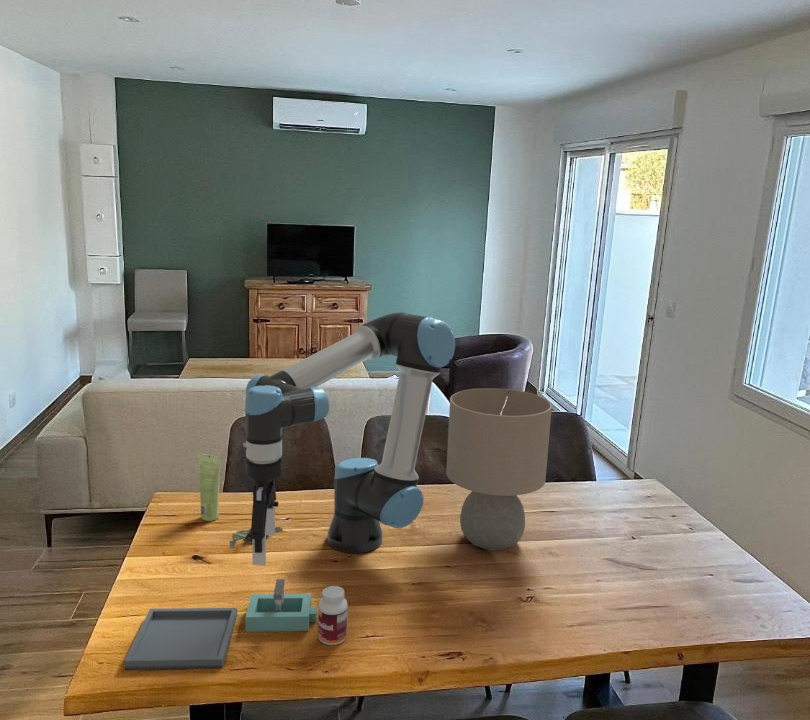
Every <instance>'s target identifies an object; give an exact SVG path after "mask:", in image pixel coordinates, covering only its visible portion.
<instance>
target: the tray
mask: <svg viewBox="0 0 810 720" xmlns="http://www.w3.org/2000/svg"><path fill="white" fill-rule="evenodd" d="M237 618H238V607H201V608H200V607H197V608H195V607H191V608H190V607H189V608H188V607H186V608H185V607H184V608H183V607H181V608H178V607H177V608H176V607H175V608H173V607H172V608H150V609H149V610H148V612H147V614H146V615H145V618H144V620H143V622H142V624H141V625H140V626H141V627H140V628H139V630H138V632H137V634H136V636H135V638H134V641H133V642H132V644H131V646H130V648H129V651H128V652H127V654H126V657H125V658H124V660H123V662H124V663H123V666H124V667H123V668H124V670H125V671H134V670H136V671H137V670H138V671H140V670H189V669H190V670H191V669H192V670H193V669H223V668H224V665H225V662H226V659H227V654H228V651H229V647H230V643H231V639H232V636H233V633H234V630H235V625H236V621H237Z"/></svg>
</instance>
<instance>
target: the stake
mask: <svg viewBox="0 0 810 720" xmlns="http://www.w3.org/2000/svg"><path fill="white" fill-rule="evenodd" d="M285 581H286V580H285V578H276V582H275V586H274V589H273V594H274V595H273V597H274V600H275V612H284V594H285V591H284V590H285V585H286V583H285Z"/></svg>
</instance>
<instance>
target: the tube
mask: <svg viewBox="0 0 810 720" xmlns="http://www.w3.org/2000/svg"><path fill="white" fill-rule="evenodd" d="M221 459H222V457H221V456H217V455H211V454H205V453H201V452H200V453H199V452H198V453H197V462H198V476H199V479H198V480H199V493H200V495H199V496H200V518H201V520H202V521H204V522H212V521H216V520H218V518H220V516H219V515H220V514H219V512H220V511H219V509H220V508H219V507H220V506H219V505H220V504H219V502H220V499H219V498H220V473H221V472H220V471H221V462H222V460H221Z"/></svg>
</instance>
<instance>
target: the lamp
mask: <svg viewBox="0 0 810 720" xmlns="http://www.w3.org/2000/svg"><path fill="white" fill-rule="evenodd" d="M552 408H553V407H552V403H551V402H550V401H549V400H548V399H547V398H544V397H542V396H540V395H537V394H535V393H530V392H527V391H523V390H518V389H517V390H516V389H507V388H497V387H495V388H488V387H487V388H486V387H485V388H481V387H480V388H472V389H465V390H461V391H458V392H456V393H454V394H452V395H451V396H450V397H449V410H448V411H449V413H448V414H449V415H448V431H447V432H448V433H447V435H448V436H447V453H446V471H445V472H446V477H447V478H448V480H449V481H450V482H451V483H453V484H454V485H456V486H458V487H460V488H462V489H465V490H467V491H471V492H469V494H468V495H466V498H465V499H464V502H463V504H462V507H461V511H460V515H459V523H460V529H461V532H462V535H464V537H465V538H466V540H468V541H469V543H471V544H473V545H474V546H476V547H477V548H480V549H483V550H488V551H502V550H506V549H510V548H512V547H513V546H515V545H516V544H517V543H519V541H521V539H522V538H523V535H524V532H525V528H526V513H525V509H524V506H523V503H522V501H521V499H520V498H519V497H518V496H521V495H527V494H530V493H533V492H536V491H538V490H540V489H542V488H543V487H544V486H545V484H546V478H547V476H546V475H547V464H548V453H549V440H550V430H551V421H552V420H551V418H552Z"/></svg>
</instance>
